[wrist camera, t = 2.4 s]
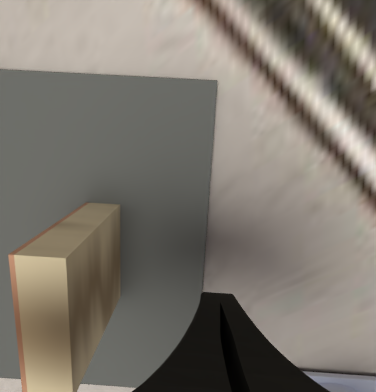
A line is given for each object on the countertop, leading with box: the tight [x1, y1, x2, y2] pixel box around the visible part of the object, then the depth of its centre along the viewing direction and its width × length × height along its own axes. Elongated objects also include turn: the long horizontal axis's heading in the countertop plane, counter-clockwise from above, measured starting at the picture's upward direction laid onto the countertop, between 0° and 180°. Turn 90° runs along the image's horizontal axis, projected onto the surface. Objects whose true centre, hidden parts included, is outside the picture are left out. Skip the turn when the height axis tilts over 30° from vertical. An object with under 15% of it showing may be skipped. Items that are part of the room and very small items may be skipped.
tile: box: [8, 202, 120, 392], centre depth 14 cm, size 6×2×7 cm, turn 177°
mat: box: [0, 69, 217, 388], centre depth 18 cm, size 20×16×1 cm
